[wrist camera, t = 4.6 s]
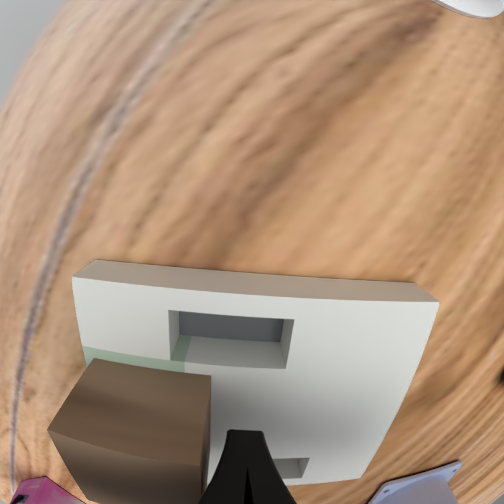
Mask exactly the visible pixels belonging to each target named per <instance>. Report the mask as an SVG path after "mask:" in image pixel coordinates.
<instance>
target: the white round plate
mask: <svg viewBox="0 0 504 504" xmlns="http://www.w3.org/2000/svg"><path fill="white" fill-rule="evenodd" d="M431 1H433V2H435V3H437V4H439V5H441V6H443V7H445V8H447V9H449V10H452V11H454V12H456V13H459V14H462V15H465V16H468V17H472V18H478V19H487V18H492V17H494V16H497V15H499V14H500V13H501V12H502V11H503V10H504V0H431Z"/></svg>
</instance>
